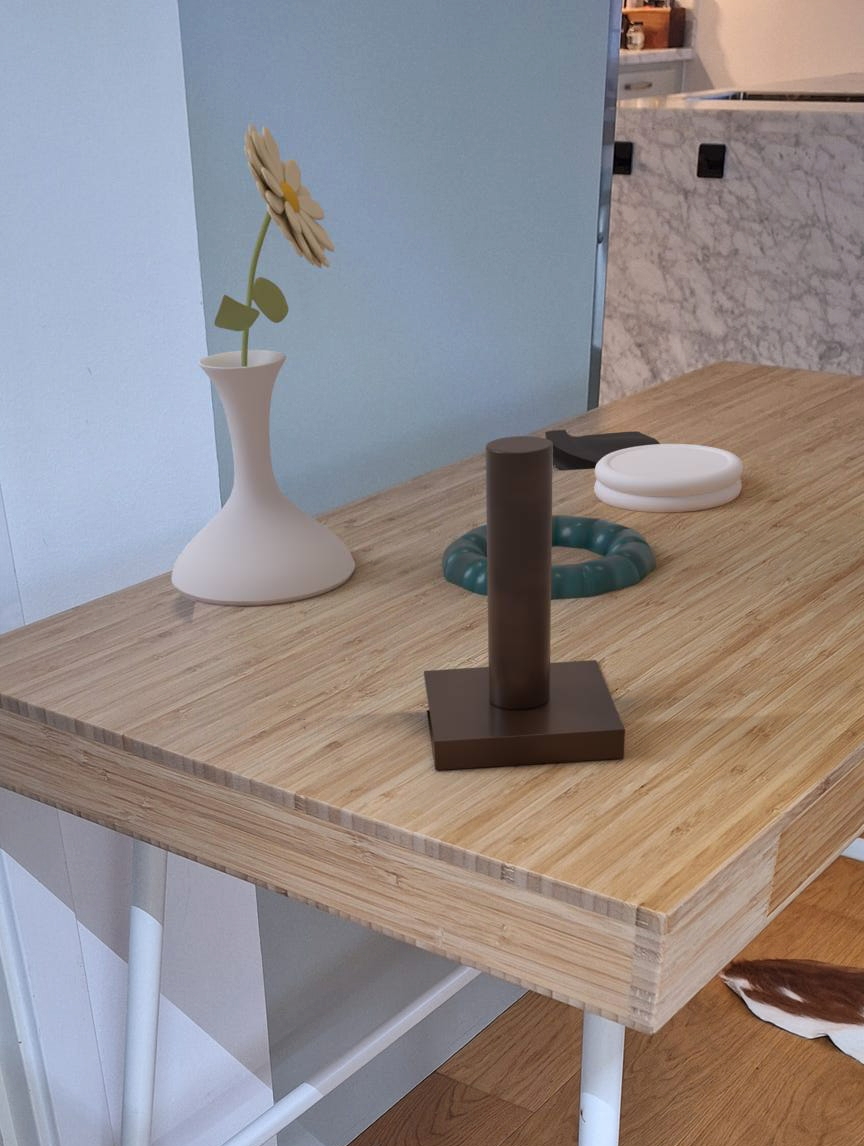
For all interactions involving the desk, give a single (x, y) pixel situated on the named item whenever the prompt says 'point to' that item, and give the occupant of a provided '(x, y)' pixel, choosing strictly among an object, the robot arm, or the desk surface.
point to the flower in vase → (262, 432)
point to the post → (520, 642)
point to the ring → (616, 570)
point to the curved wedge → (591, 447)
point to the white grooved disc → (668, 478)
